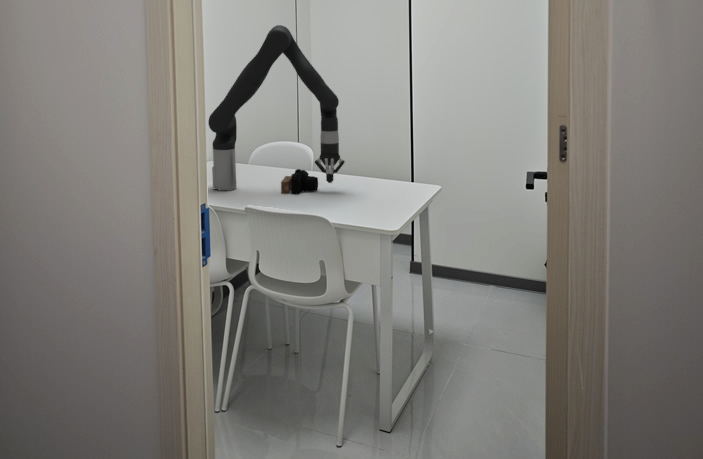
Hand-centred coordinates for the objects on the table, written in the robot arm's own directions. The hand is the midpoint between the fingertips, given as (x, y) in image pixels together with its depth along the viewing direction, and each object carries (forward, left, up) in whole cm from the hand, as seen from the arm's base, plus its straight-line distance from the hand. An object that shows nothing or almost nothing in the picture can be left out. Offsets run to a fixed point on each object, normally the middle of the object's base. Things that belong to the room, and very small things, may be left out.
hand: (330, 182), depth 307 cm
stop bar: (-18, 0, -4) cm, 19 cm away
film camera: (-11, 0, -4) cm, 11 cm away
